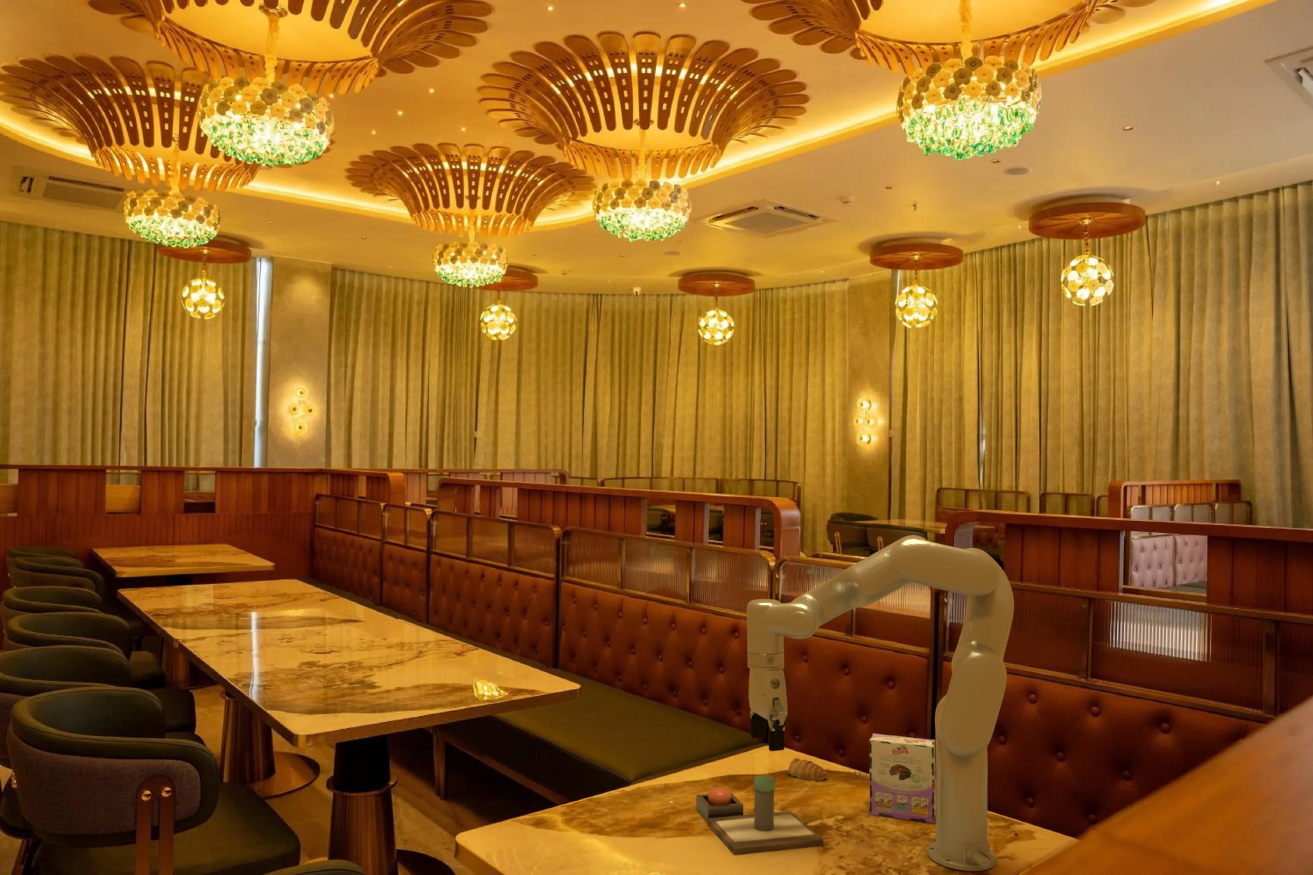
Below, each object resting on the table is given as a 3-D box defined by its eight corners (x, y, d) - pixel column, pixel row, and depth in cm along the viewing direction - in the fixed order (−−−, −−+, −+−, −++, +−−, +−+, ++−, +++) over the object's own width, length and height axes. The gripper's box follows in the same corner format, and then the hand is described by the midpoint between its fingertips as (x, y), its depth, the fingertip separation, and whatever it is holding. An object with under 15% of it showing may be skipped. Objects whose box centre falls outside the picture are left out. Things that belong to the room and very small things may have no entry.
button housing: (743, 818, 193) (743, 804, 193) (708, 822, 191) (708, 807, 191) (730, 805, 201) (730, 791, 201) (696, 808, 198) (696, 794, 199)
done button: (734, 805, 194) (734, 793, 194) (712, 807, 193) (712, 795, 193) (726, 797, 199) (726, 786, 199) (704, 798, 198) (705, 787, 198)
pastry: (832, 777, 221) (832, 761, 221) (819, 785, 216) (819, 769, 216) (798, 769, 227) (798, 754, 227) (785, 776, 222) (785, 761, 222)
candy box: (936, 814, 197) (936, 738, 198) (934, 824, 191) (934, 746, 192) (872, 805, 202) (872, 731, 203) (868, 814, 196) (868, 738, 197)
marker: (777, 830, 183) (778, 780, 184) (758, 832, 182) (758, 782, 182) (769, 822, 187) (770, 774, 188) (750, 824, 186) (751, 775, 186)
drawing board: (823, 845, 179) (823, 838, 179) (734, 854, 174) (734, 847, 174) (790, 816, 195) (790, 809, 195) (707, 824, 190) (707, 817, 190)
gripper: (800, 666, 179) (801, 753, 178) (766, 651, 195) (767, 731, 195) (765, 669, 177) (766, 757, 176) (733, 653, 193) (735, 734, 193)
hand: (767, 743), depth 185 cm, fingers open, 9 cm apart
